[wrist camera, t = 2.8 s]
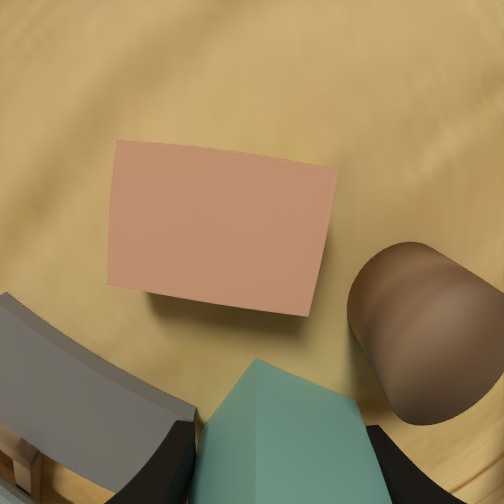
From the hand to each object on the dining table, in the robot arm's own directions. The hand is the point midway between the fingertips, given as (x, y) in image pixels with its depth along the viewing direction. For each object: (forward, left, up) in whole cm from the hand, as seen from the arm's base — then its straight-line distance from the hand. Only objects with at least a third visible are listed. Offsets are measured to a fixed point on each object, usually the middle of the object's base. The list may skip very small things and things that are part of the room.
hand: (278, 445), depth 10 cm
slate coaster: (+8, +6, -1) cm, 9 cm away
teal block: (0, 0, -1) cm, 1 cm away
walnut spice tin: (-1, -6, -1) cm, 7 cm away
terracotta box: (+6, -6, -2) cm, 8 cm away
